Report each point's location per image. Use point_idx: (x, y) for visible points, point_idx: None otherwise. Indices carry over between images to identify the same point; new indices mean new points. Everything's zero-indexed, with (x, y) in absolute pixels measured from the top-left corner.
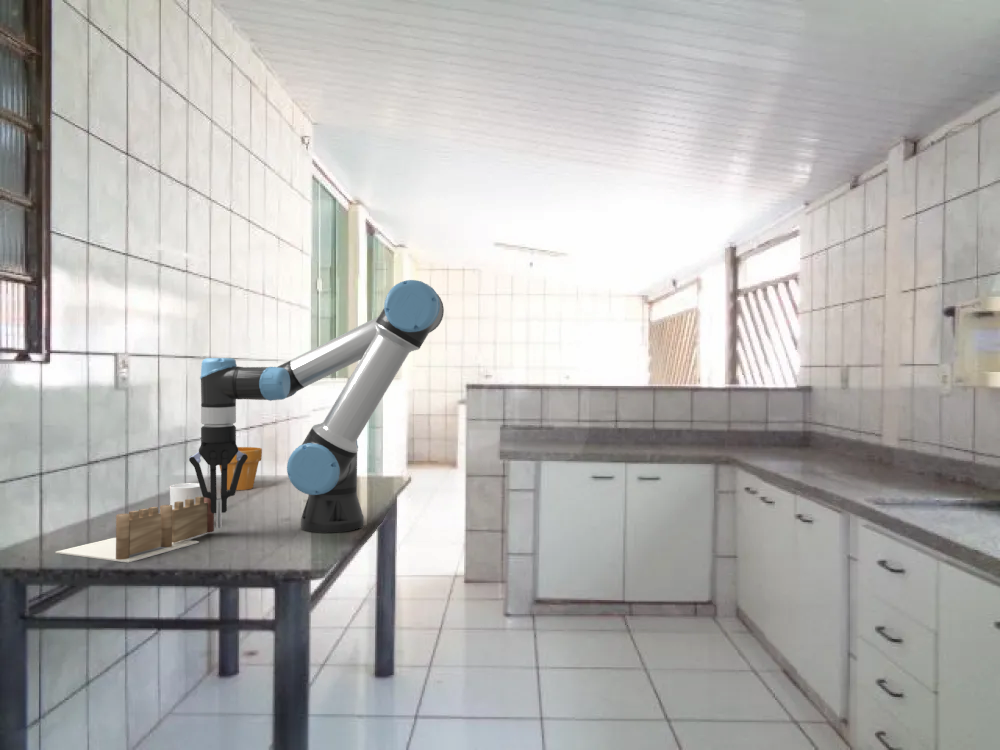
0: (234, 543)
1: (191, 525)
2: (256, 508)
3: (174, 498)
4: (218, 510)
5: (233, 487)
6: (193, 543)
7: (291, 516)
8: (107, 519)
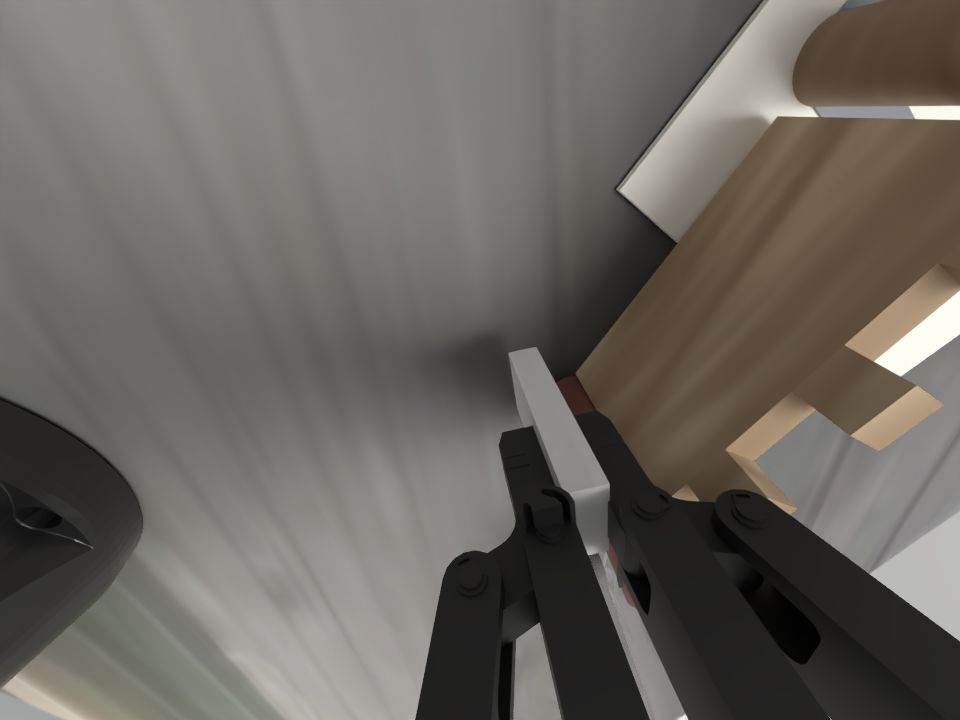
0: (389, 122)
1: (703, 293)
2: None
3: None
4: (559, 420)
5: (466, 661)
6: (653, 146)
7: (284, 624)
8: None
